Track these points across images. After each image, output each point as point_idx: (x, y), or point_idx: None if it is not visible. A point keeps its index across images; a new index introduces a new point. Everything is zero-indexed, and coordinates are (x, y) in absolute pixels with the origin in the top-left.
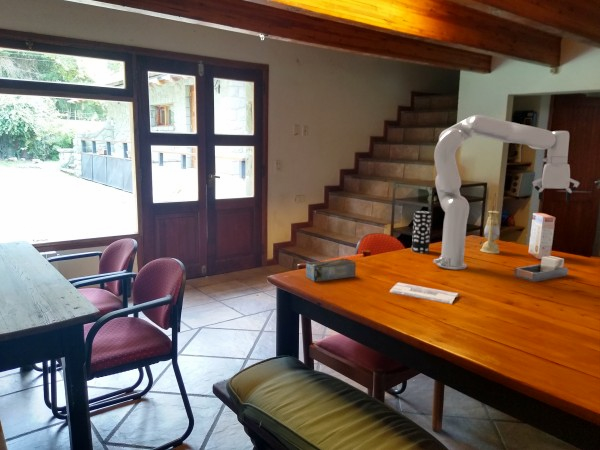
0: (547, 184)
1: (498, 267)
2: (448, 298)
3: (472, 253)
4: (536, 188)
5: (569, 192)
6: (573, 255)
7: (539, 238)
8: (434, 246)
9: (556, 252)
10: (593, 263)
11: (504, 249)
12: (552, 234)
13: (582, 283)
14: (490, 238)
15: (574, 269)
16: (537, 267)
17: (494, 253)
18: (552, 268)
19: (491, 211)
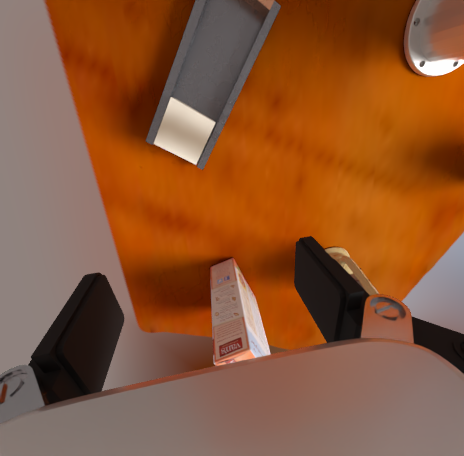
0: (396, 417)
1: (314, 110)
2: None
3: (367, 223)
4: (452, 338)
5: (26, 374)
6: (177, 330)
7: (242, 295)
8: (444, 235)
9: (208, 333)
10: (130, 294)
11: (300, 298)
12: (213, 313)
13: (93, 62)
14: (353, 265)
15: (150, 217)
16: (221, 112)
17: None
18: (180, 101)
19: None
